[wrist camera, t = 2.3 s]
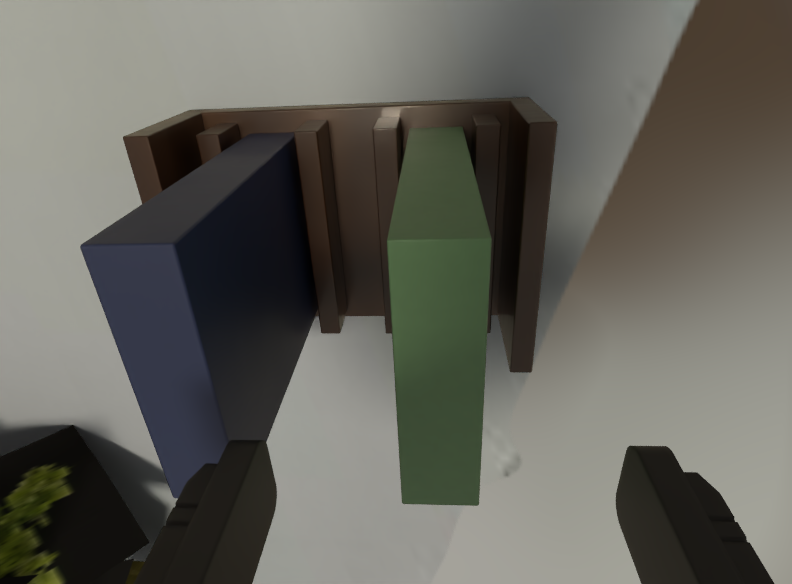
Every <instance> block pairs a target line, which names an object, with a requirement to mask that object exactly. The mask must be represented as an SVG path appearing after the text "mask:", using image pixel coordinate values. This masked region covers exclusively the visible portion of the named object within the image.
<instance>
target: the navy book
mask: <svg viewBox="0 0 792 584" xmlns="http://www.w3.org/2000/svg"><path fill="white" fill-rule="evenodd" d="M80 248H81V251H82V253H83V256H84V259H85V261H86V264H87V267H88V270H89V272H90V275H91V278H92V280H93V283H94V286H95V288H96V291H97V294H98V296H99V299H100V302H101V304H102V307H103V310H104V312H105V315H106V318H107V321H108V323H109V326H110V329H111V331H112V334H113V337H114V339H115V342H116V345H117V347H118V350H119V353H120V355H121V358H122V361H123V363H124V366H125V369H126V372H127V374H128V377H129V380H130V382H131V385H132V388H133V390H134V393H135V396H136V398H137V401H138V404H139V406H140V409H141V412H142V415H143V417H144V420H145V423H146V425H147V428H148V431H149V433H150V436H151V439H152V441H153V444H154V447H155V449H156V452H157V455H158V457H159V460H160V463H161V466H162V468H163V471H164V474H165V476H166V479H167V482H168V484H169V487H170V490H171V492H172V495H173V497H174V498H179V496H180V494H181V492H182V490H183V488H184V486H185V484H186V483H187V481H188V480H189V479H190V478H191V477H192V476H193V475H194V474H195V473H196V472H197V471H198V470H199V469H200V468H201V467H202V466H203V465H204V464H205V463H213V464H218V462H219V460H220V458H221V456H222V454H223V452H224V450H225V447H226V446H227V444H228V442H229V441H230V440H264V441H265V442H266V441H267V439H268V436H269V433H270V431H271V428H272V426H273V423H274V421H275V418H276V415H277V413H278V410H279V408H280V405H281V403H282V400H283V397H284V395H285V392H286V390H287V387H288V385H289V382H290V379H291V377H292V374H293V372H294V369H295V367H296V364H297V361H298V359H299V356H300V354H301V351H302V349H303V346H304V343H305V341H306V338H307V336H308V333H309V331H310V328H311V326H312V323H313V320H314V318H315V315H316V313H317V310H318V305H317V298H316V291H315V283H314V276H313V269H312V261H311V254H310V247H309V240H308V232H307V225H306V218H305V211H304V203H303V196H302V189H301V182H300V174H299V167H298V160H297V153H296V145H295V138H294V132H291V133H262V134H249V135H247V136H245V137H244V138H242V139H241V140H239V141H238V142H236V143H235V144H233V145H232V146H230V147H229V148H227V149H226V150H224V151H223V152H221V153H220V154H218V155H217V156H215V157H214V158H212V159H211V160H209V161H208V162H206V163H205V164H203V165H201V166H200V167H198V168H197V169H195V170H194V171H192V172H191V173H189V174H188V175H186V176H185V177H183V178H182V179H180V180H179V181H177V182H176V183H174V184H173V185H171V186H170V187H168V188H167V189H165V190H164V191H162V192H160V193H159V194H157V195H156V196H154V197H153V198H151V199H150V200H148V201H147V202H145V203H144V204H142V205H141V206H139V207H138V208H136V209H135V210H133V211H132V212H130V213H129V214H127V215H126V216H124V217H123V218H121V219H120V220H118V221H116V222H115V223H113V224H112V225H110V226H109V227H107V228H106V229H104V230H103V231H101V232H100V233H98V234H97V235H95V236H94V237H92V238H91V239H89V240H88V241H86V242H85V243H83V244H82V245H81V246H80Z"/></svg>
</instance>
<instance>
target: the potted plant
mask: <svg viewBox="0 0 792 584" xmlns="http://www.w3.org/2000/svg"><path fill="white" fill-rule="evenodd" d="M148 543H149V541H148V540H147V538H146V536H145V535H144V533H143V531H142V530H141V528H140V527H139V525H138V523H137V522H136V520H135V518H134V517H133V515H132V513H131V512H130V510H129V509H128V507H127V505H126V504H125V502H124V500H123V499H122V497H121V496H120V494H119V493H118V491H117V490H116V488H115V486H114V485H113V483H112V482H111V480H110V479H109V477H108V476H107V474H106V473H105V471H104V469H103V468H102V466H101V465H100V463H99V462H98V460H97V459H96V457H95V456H94V454H93V453H92V452H91V450H90V449H89V447H88V446H87V444H86V443H85V442H84V440H83V439H82V437H81V436H80V434H79V433H78V432H77V430H76V429H75V427H74V426H73V425H72V426H70V427H68V428H65V429H63V430H61V431H59V432H56V433H54V434H52V435H50V436H47V437H45V438H43V439H40V440H38V441H36V442H34V443H31V444H29V445H27V446H25V447H22V448H20V449H18V450H15V451H13V452H11V453H9V454H6V455H4V456H2V457H0V584H134V582H135V580H136V578H137V576H138V574H139V572H140V570H141V568H142V566H143V565H144V563H145V562H140V561H133V560H134V559H131V560H125V559H126V558H128V557H129V556H131V555H132V554H133V553H135V552H136V551H138V550H139V549H141V548H142V547H144V546H145V545H147V544H148ZM123 560H125V561H123Z"/></svg>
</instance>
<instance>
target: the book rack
mask: <svg viewBox="0 0 792 584" xmlns="http://www.w3.org/2000/svg"><path fill="white" fill-rule="evenodd" d="M433 127H463V131H464V134H465V138H466V142H467V146H468V150H469V154H470V158H471V162H472V165H473V169H474V173H475V177H476V181H477V185H478V189H479V193H480V196H481V200H482V204H483V208H484V212H485V216H486V220H487V224H488V227H489V231H490V235H491V239H492V241H491V262H490V283H489V303H488V324H487V333H490V330H491V315H498V318H499V323H500V327H501V332H502V337H503V341H504V346H505V351H506V355H507V360H508V365H509V369H510V372H532V366H533V356H534V347H535V337H536V327H537V317H538V308H539V298H540V288H541V278H542V269H543V259H544V249H545V240H546V230H547V220H548V210H549V201H550V191H551V181H552V171H553V162H554V152H555V142H556V132H557V122H556V121H555V120H554V119H553V118H552V117H551V116H550V115H548V114H547V113H546V112H545V111H544V110H543V109H542V108H540V107H539V106H538V105H537V104H536V103H535V102H534V101H533V100H531V99H530V98H529V97H520V98H495V99H469V100H442V101H416V102H390V103H364V104H338V105H312V106H286V107H260V108H234V109H205V110H189V111H186V112H184V113H181V114H179V115H176V116H174V117H171V118H169V119H166V120H164V121H161V122H159V123H156V124H154V125H151V126H149V127H146V128H144V129H141V130H139V131H136V132H134V133H131V134H129V135H126V136H124V137H123V140H124V143H125V146H126V150H127V153H128V157H129V160H130V163H131V167H132V170H133V174H134V177H135V180H136V184H137V187H138V190H139V194H140V197H141V201H142V204H144V203H145V202H147V201H148V200H150V199H151V198H153V197H154V196H156V195H157V194H159V193H160V192H162V191H164V190H165V189H167V188H168V187H170V186H171V185H173V184H174V183H176V182H177V181H179V180H180V179H182V178H183V177H185V176H186V175H188V174H189V173H191V172H192V171H194V170H195V169H197V168H198V167H200V166H201V165H203V164H205V163H206V162H208V161H209V160H211V159H212V158H214V157H215V156H217V155H218V154H220V153H221V152H223V151H224V150H226V149H227V148H229V147H230V146H232V145H233V144H235V143H236V142H238V141H239V140H241V139H242V138H244V137H245V136H247V135H249V134H262V133H291V132H294V138H295V145H296V153H297V160H298V167H299V174H300V182H301V189H302V196H303V203H304V211H305V218H306V225H307V232H308V240H309V247H310V254H311V261H312V269H313V276H314V283H315V291H316V298H317V305H318V310H317V313H316V315H315V316H319V320H320V327H321V333H340V332H341V329H342V325H343V322H344V319H345V316H385V327H386V333H392V322H391V304H390V287H389V270H388V253H387V238H388V233H389V228H390V223H391V218H392V213H393V208H394V203H395V198H396V193H397V188H398V184H399V179H400V174H401V169H402V164H403V159H404V154H405V149H406V144H407V139H408V134H409V129H410V128H433Z"/></svg>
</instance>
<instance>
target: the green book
mask: <svg viewBox="0 0 792 584" xmlns="http://www.w3.org/2000/svg"><path fill="white" fill-rule="evenodd" d="M491 241H492V239H491V235H490V231H489V227H488V224H487V220H486V216H485V212H484V208H483V204H482V200H481V196H480V193H479V189H478V185H477V181H476V177H475V173H474V169H473V165H472V162H471V158H470V154H469V150H468V146H467V142H466V138H465V134H464V131H463V127H433V128H410V129H409V134H408V139H407V144H406V149H405V154H404V159H403V164H402V169H401V174H400V179H399V184H398V188H397V193H396V198H395V203H394V208H393V213H392V218H391V223H390V228H389V233H388V238H387V253H388V270H389V287H390V304H391V322H392V339H393V356H394V373H395V390H396V407H397V424H398V441H399V459H400V476H401V493H402V503H403V504H431V505H475V506H477V505H479V491H480V470H481V449H482V428H483V408H484V387H485V366H486V345H487V324H488V303H489V283H490V262H491Z"/></svg>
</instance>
